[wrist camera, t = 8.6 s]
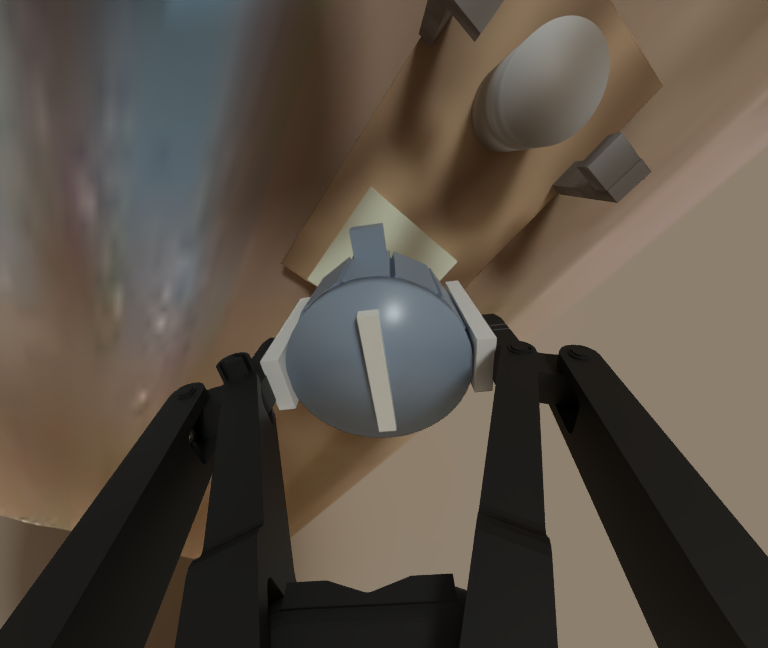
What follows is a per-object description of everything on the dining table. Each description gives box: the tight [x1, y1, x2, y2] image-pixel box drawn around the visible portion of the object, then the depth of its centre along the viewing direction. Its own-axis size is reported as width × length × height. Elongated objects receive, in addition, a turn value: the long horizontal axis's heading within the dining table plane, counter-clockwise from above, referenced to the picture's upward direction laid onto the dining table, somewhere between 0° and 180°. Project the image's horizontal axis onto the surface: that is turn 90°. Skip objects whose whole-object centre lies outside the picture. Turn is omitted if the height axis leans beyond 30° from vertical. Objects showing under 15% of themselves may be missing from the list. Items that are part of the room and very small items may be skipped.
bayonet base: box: [281, 0, 663, 289], centre depth 19 cm, size 14×26×7 cm, turn 142°
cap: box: [286, 223, 473, 438], centre depth 14 cm, size 11×8×6 cm
